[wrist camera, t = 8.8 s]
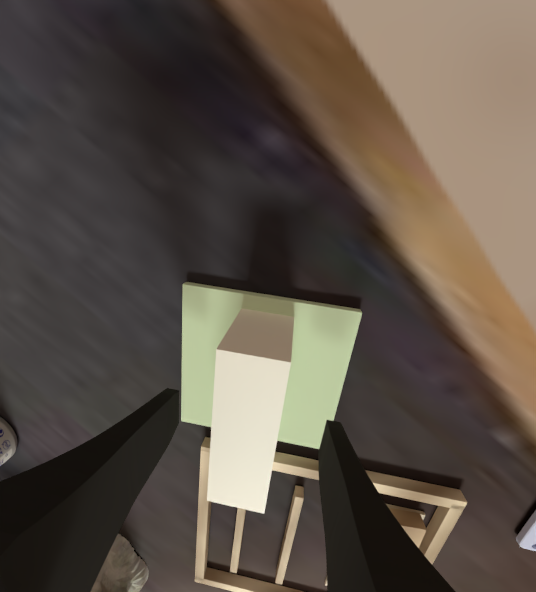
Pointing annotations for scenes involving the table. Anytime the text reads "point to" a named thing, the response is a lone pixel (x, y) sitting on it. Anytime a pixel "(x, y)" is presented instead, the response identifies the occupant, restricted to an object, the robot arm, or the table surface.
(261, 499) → the tall cream block
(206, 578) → the rack
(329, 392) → the mat
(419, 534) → the offcut upper
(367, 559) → the robot arm
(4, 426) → the energy drink
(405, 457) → the table surface
